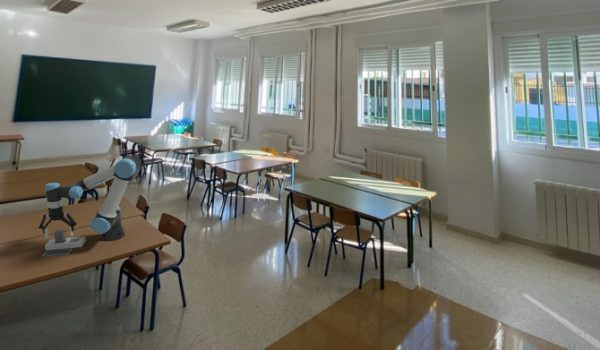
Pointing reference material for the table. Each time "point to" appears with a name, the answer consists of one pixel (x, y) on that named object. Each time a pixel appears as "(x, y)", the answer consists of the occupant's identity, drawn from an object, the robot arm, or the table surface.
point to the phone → (57, 252)
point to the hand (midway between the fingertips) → (59, 236)
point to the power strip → (66, 243)
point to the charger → (59, 236)
